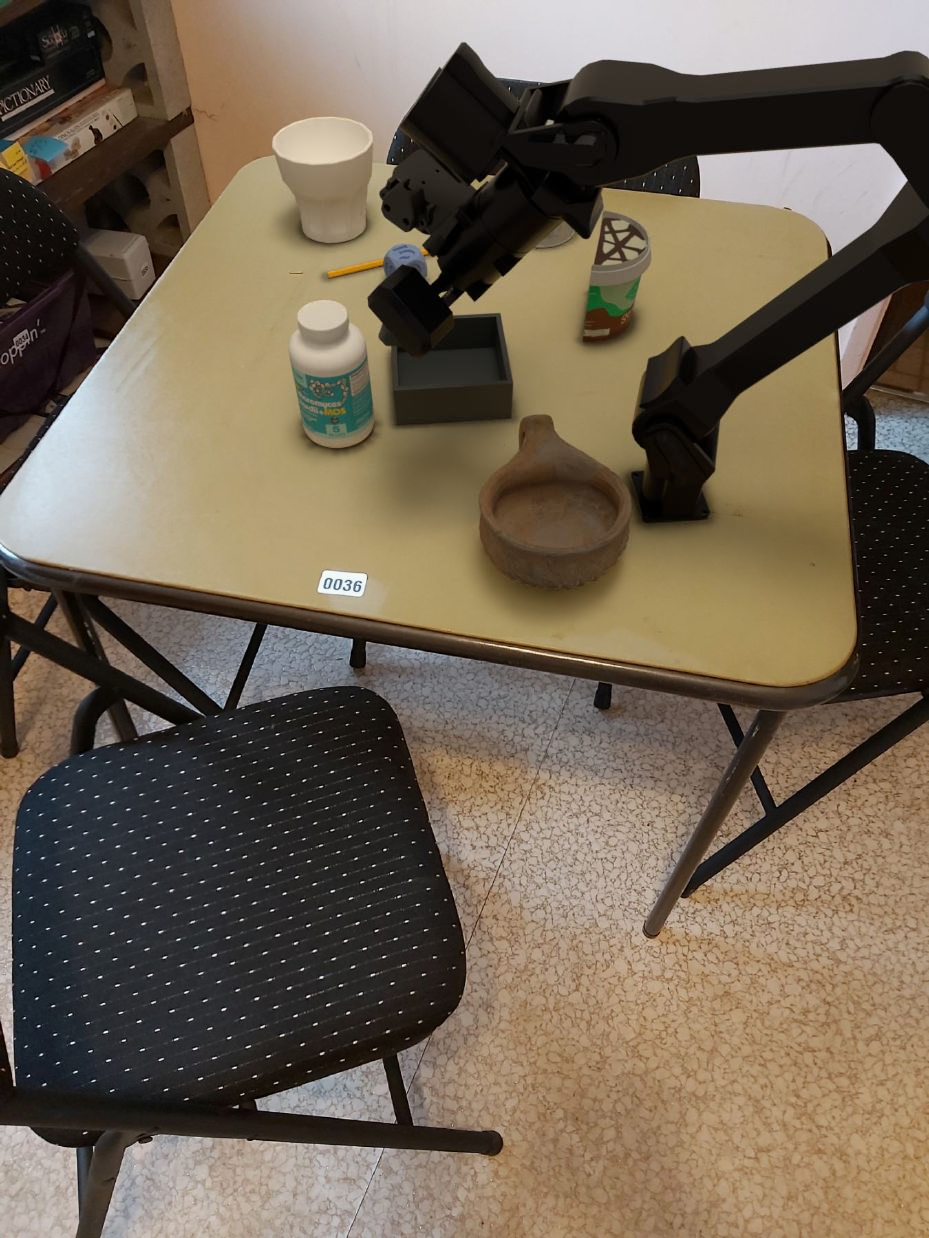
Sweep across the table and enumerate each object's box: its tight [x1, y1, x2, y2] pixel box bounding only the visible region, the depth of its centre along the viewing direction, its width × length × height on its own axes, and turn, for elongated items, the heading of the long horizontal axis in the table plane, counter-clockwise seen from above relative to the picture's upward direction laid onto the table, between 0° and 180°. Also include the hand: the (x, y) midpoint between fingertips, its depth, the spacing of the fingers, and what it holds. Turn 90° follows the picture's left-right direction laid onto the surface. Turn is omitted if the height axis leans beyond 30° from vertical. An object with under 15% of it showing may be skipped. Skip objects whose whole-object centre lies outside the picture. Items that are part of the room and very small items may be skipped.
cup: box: [271, 116, 374, 244], centre depth 107 cm, size 12×12×11 cm
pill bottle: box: [288, 299, 375, 449], centre depth 82 cm, size 8×7×14 cm
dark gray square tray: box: [390, 312, 514, 426], centre depth 90 cm, size 12×12×4 cm
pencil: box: [326, 248, 430, 280], centre depth 106 cm, size 1×18×1 cm, turn 113°
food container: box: [582, 209, 652, 343], centre depth 95 cm, size 12×6×10 cm, turn 168°
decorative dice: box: [382, 243, 428, 280], centre depth 102 cm, size 4×4×4 cm
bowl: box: [478, 413, 633, 591], centre depth 75 cm, size 18×14×10 cm
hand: (411, 313), depth 77 cm, fingers open, 9 cm apart
